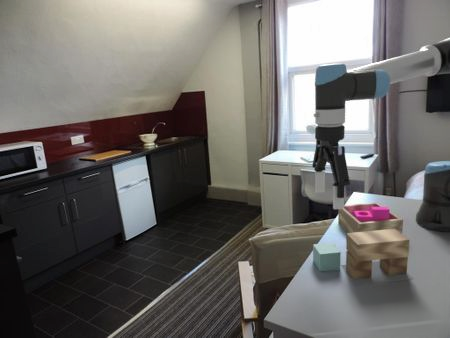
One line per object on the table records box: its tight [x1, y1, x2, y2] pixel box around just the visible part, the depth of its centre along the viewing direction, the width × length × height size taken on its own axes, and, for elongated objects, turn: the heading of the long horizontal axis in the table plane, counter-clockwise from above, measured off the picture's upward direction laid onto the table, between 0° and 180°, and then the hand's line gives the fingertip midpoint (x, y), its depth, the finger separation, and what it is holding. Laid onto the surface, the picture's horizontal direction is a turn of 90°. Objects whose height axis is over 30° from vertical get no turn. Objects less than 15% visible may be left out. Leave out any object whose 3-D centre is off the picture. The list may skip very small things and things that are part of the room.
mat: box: [340, 260, 415, 286], centre depth 91 cm, size 16×10×1 cm, turn 93°
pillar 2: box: [379, 256, 409, 276], centre depth 91 cm, size 5×5×6 cm
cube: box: [312, 242, 341, 272], centre depth 96 cm, size 6×6×6 cm
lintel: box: [345, 229, 410, 262], centre depth 89 cm, size 14×7×5 cm, turn 93°
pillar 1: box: [345, 250, 373, 279], centre depth 90 cm, size 5×5×6 cm
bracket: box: [353, 206, 390, 222], centre depth 116 cm, size 12×10×10 cm
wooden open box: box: [337, 201, 404, 235], centre depth 116 cm, size 15×17×7 cm
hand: (328, 200), depth 91 cm, fingers open, 13 cm apart
